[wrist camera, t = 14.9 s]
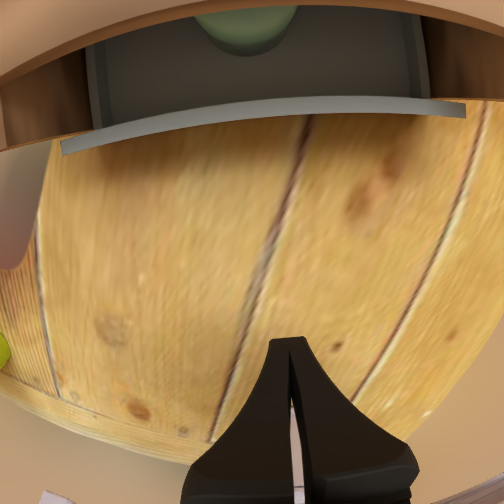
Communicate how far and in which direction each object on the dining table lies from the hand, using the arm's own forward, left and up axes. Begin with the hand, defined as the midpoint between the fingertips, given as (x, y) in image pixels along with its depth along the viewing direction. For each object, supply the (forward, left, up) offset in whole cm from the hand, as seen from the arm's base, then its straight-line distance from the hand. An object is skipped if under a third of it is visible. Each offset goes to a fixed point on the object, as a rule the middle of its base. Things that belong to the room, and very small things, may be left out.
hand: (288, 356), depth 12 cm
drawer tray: (+14, +4, -10) cm, 18 cm away
